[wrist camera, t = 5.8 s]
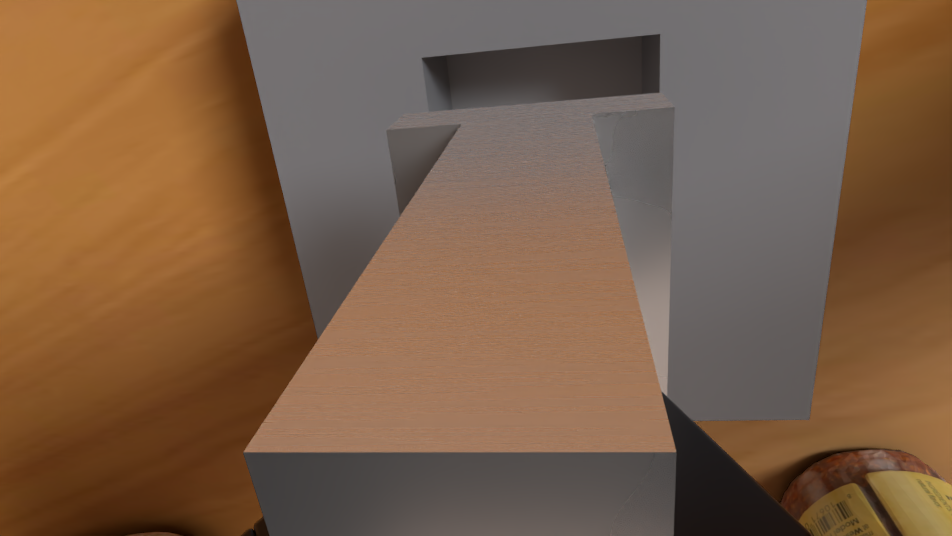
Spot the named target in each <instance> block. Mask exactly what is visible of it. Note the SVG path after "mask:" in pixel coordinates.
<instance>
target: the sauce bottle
mask: <svg viewBox="0 0 952 536" xmlns="http://www.w3.org/2000/svg"><path fill="white" fill-rule="evenodd" d="M780 504H781V505H782V506H783V507H784V508H785V509H786V510H787V511H788V512H789V513H790V514H791V515H792V516H793V517H794V518H795V519H797V520H798V521H799V522H800V523H801V524H802V525H803V526H804V527H805V528H806V529H807V530H808V531H809V532H810V533H811V534H812V536H952V485H950V484H948V483H947V482H946V481H945V480H944V478H942V477H941V476H939V474H938V473H937V472H936V471H935V470H933V469H932V468H931V467H929V466H928V465H926V464H924V463H923V462H922V461H921V460H920V459H918V458H917V457H915V456H914V455H911V454H909V453H906V452H903V451H901V450H886V449H870V450H856V451H848V452H842V453H838V454H833V455H831V456H829V457H827V458H825V459H822V460H821V461H819V462H816V463H813V465H812V466H811V467H809V468H807V469H806V470H805V471H804V472H803V473H802V474H801V475H799V476H798V477H796V478H795V479H794V480H793V481H792V482H791V484H790V485H789V488H788V489H787V490H786V491H785V492H784V495H783V498H782V501H781V503H780Z"/></svg>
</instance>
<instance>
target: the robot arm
mask: <svg viewBox="0 0 952 536" xmlns="http://www.w3.org/2000/svg"><path fill="white" fill-rule="evenodd" d="M661 393H662V397H663V401H664V405H665V408H666V412H667V416H668V420H669V424H670V428H671V432H672V436H673V440H674V444H675V448H676V481H675V509H674V536H812V534H811V533H810V532H809V531H808V530H807V529H806V528H805V527H804V526H803V525H802V524H801V523H800V522H799V521H798V520H797V519H795V518H794V517H793V516H792V515H791V514H790V513H789V512H788V511H787V510H786V509H785V508H784V507H783V506H782V505H781V504H780V503H779V502H778V501H777V500H776V499H774V498H773V497H772V496H771V495H770V494H769V493H768V492H767V491H766V490H765V489H764V488H763V487H762V486H761V485H760V484H759V483H758V482H757V481H756V480H754V479H753V478H752V477H751V476H750V475H749V474H748V473H747V472H746V471H745V470H744V469H743V468H742V467H741V466H740V465H739V464H738V463H737V462H736V461H734V460H733V459H732V458H731V457H730V456H729V455H728V454H727V453H726V452H725V451H724V450H723V449H722V448H721V447H720V446H719V445H718V444H717V443H716V442H714V441H713V440H712V439H711V438H710V437H709V436H708V435H707V434H706V433H705V432H704V431H703V430H702V429H701V428H700V427H699V426H698V425H697V424H696V423H695V422H693V421H692V420H691V419H690V418H689V417H688V416H687V415H686V414H685V413H684V412H683V411H682V410H681V409H680V408H679V407H678V406H677V405H676V404H675V403H673V402H672V401H671V400H670V399H669V398H668V397H667V396H666V395H665V394H664V393H663V392H662V391H661ZM241 536H270V535H269V532H268V529H267V526H266V523H265V520H264V516H263V517H262V518H261V519H260V520H259V521H257V522H256V523H255V524H254V530H253V529H248V530H246V531H245V532H244V533H243V534H242V535H241Z"/></svg>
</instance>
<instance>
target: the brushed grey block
mask: <svg viewBox="0 0 952 536" xmlns="http://www.w3.org/2000/svg"><path fill="white" fill-rule="evenodd" d="M674 115H675V107H674V106H673V105H672V103H671V102H670V101H669V100H668V99H667V98H666V97H665V96H664V95H663V94H662V93H649V94H637V95H625V96H613V97H601V98H589V99H577V100H565V101H553V102H541V103H529V104H517V105H505V106H493V107H481V108H469V109H457V110H445V111H433V112H421V113H408V114H404V115H403V116H401V117H400V118H399V119H398V120H397V121H396V122H395V123H393V124H392V125H391V126H390V127H389V128H388V129H387V130H386V133H387V139H388V145H389V151H390V158H391V164H392V170H393V176H394V183H395V189H396V195H397V201H398V208H399V214H400V217H399V219H398V220H397V222H396V223H395V225H394V226H393V228H392V229H391V231H390V232H389V234H388V235H387V237H386V238H385V240H384V241H383V243H382V244H381V246H380V247H379V249H378V250H377V252H376V253H375V255H374V256H373V258H372V259H371V261H370V262H369V264H368V265H367V267H366V268H365V270H364V271H363V273H362V274H361V276H360V277H359V279H358V280H357V282H356V283H355V285H354V286H353V288H352V289H351V291H350V292H349V294H348V295H347V297H346V298H345V300H344V301H343V303H342V304H341V306H340V307H339V309H338V310H337V312H336V313H335V315H334V316H333V318H332V319H331V321H330V322H329V324H328V325H327V327H326V329H325V330H324V332H323V333H322V335H321V336H320V338H319V339H318V341H317V342H316V344H315V345H314V347H313V348H312V350H311V351H310V353H309V354H308V356H307V357H306V359H305V360H304V362H303V363H302V365H301V366H300V368H299V369H298V371H297V372H296V374H295V375H294V377H293V378H292V380H291V381H290V383H289V384H288V386H287V387H286V389H285V390H284V392H283V393H282V395H281V396H280V398H279V399H278V401H277V402H276V404H275V405H274V407H273V408H272V410H271V411H270V413H269V414H268V416H267V417H266V419H265V420H264V422H263V423H262V425H261V426H260V428H259V429H258V431H257V432H256V434H255V435H254V437H253V438H252V440H251V441H250V443H249V444H248V446H247V447H246V449H245V450H244V452H243V454H244V457H245V460H246V463H247V466H248V469H249V473H250V476H251V479H252V482H253V485H254V488H255V491H256V495H257V498H258V501H259V504H260V507H261V510H262V513H263V516H264V520H265V523H266V526H267V529H268V532H269V535H270V536H674V509H675V481H676V448H675V444H674V440H673V436H672V432H671V428H670V424H669V420H668V416H667V412H666V408H665V405H664V401H663V397H662V393H661V391H662V392H663V393H664V394H665V395H666V396H667V382H668V344H669V306H670V268H671V230H672V192H673V153H674Z"/></svg>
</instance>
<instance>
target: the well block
mask: <svg viewBox="0 0 952 536" xmlns="http://www.w3.org/2000/svg"><path fill="white" fill-rule="evenodd" d="M236 1H237V5H238V9H239V13H240V17H241V21H242V26H243V30H244V34H245V38H246V42H247V46H248V51H249V55H250V59H251V63H252V67H253V71H254V76H255V80H256V84H257V88H258V92H259V96H260V100H261V105H262V109H263V113H264V117H265V121H266V125H267V130H268V134H269V138H270V142H271V146H272V150H273V154H274V159H275V163H276V167H277V171H278V175H279V179H280V184H281V188H282V192H283V196H284V200H285V204H286V208H287V213H288V217H289V221H290V225H291V229H292V233H293V238H294V242H295V246H296V250H297V254H298V258H299V262H300V267H301V271H302V275H303V279H304V283H305V287H306V292H307V296H308V300H309V304H310V308H311V312H312V317H313V321H314V325H315V329H316V333H317V337H318V339H319V338H320V336H321V335H322V333H323V332H324V330H325V329H326V327H327V325H328V324H329V322H330V321H331V319H332V318H333V316H334V315H335V313H336V312H337V310H338V309H339V307H340V306H341V304H342V303H343V301H344V300H345V298H346V297H347V295H348V294H349V292H350V291H351V289H352V288H353V286H354V285H355V283H356V282H357V280H358V279H359V277H360V276H361V274H362V273H363V271H364V270H365V268H366V267H367V265H368V264H369V262H370V261H371V259H372V258H373V256H374V255H375V253H376V252H377V250H378V249H379V247H380V246H381V244H382V243H383V241H384V240H385V238H386V237H387V235H388V234H389V232H390V231H391V229H392V228H393V226H394V225H395V223H396V222H397V220H398V219H399V217H400V214H399V208H398V201H397V195H396V189H395V183H394V176H393V170H392V164H391V158H390V151H389V145H388V139H387V133H386V130H387V129H388V128H389V127H390V126H391V125H392V124H393V123H395V122H396V121H397V120H398V119H399V118H400V117H401V116H403V115H404V114H408V113H421V112H433V111H445V110H457V109H469V108H481V107H493V106H505V105H517V104H529V103H541V102H553V101H565V100H577V99H589V98H601V97H613V96H625V95H637V94H649V93H662V94H663V95H664V96H665V97H666V98H667V99H668V100H669V101H670V102H671V103H672V105H673V106H674V107H675V115H674V153H673V192H672V230H671V268H670V306H669V344H668V382H667V397H668V398H669V399H670V400H671V401H672V402H673V403H675V404H676V405H677V406H678V407H679V408H680V409H681V410H682V411H683V412H684V413H685V414H686V415H687V416H688V417H689V418H690V419H691V420H692V421H733V420H809V419H810V411H811V404H812V397H813V389H814V382H815V375H816V368H817V360H818V353H819V346H820V338H821V331H822V324H823V317H824V309H825V302H826V295H827V287H828V280H829V273H830V266H831V258H832V251H833V244H834V237H835V229H836V222H837V215H838V207H839V200H840V193H841V186H842V178H843V171H844V164H845V156H846V149H847V142H848V135H849V127H850V120H851V113H852V105H853V98H854V91H855V84H856V76H857V69H858V62H859V54H860V47H861V40H862V33H863V25H864V18H865V11H866V4H867V0H236Z"/></svg>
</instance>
